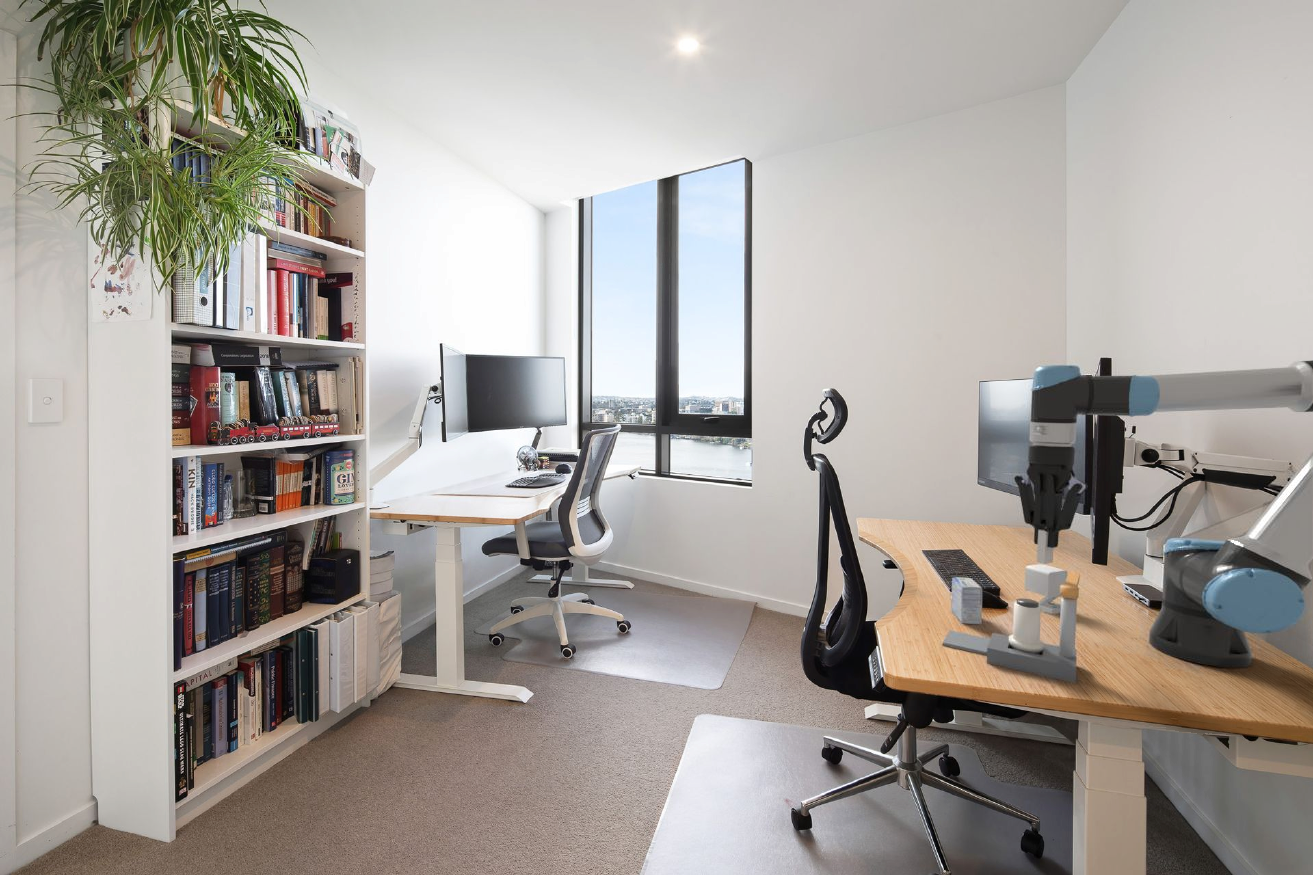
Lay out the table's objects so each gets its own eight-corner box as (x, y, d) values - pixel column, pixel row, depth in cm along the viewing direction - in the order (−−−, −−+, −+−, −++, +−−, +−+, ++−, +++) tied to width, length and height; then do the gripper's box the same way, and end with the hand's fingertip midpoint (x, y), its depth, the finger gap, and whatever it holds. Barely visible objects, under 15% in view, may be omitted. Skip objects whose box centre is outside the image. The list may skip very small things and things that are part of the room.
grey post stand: (1075, 665, 111) (1078, 593, 110) (1075, 683, 104) (1078, 607, 103) (992, 647, 120) (994, 580, 119) (986, 662, 112) (989, 592, 111)
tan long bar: (1077, 608, 106) (1078, 590, 106) (1059, 605, 108) (1059, 587, 108) (1082, 589, 117) (1082, 572, 117) (1065, 586, 119) (1066, 569, 119)
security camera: (1042, 602, 147) (1043, 563, 146) (1069, 611, 140) (1071, 571, 139) (1023, 605, 145) (1025, 565, 144) (1050, 614, 138) (1052, 573, 137)
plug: (1043, 660, 113) (1046, 600, 113) (1042, 671, 109) (1044, 608, 108) (1009, 652, 117) (1011, 594, 116) (1006, 663, 112) (1008, 602, 111)
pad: (991, 641, 122) (991, 638, 122) (986, 654, 116) (986, 652, 116) (949, 632, 127) (949, 630, 127) (942, 645, 120) (942, 642, 120)
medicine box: (982, 625, 131) (983, 587, 131) (960, 623, 132) (962, 586, 132) (970, 612, 139) (971, 577, 139) (950, 611, 140) (951, 576, 140)
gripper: (1007, 442, 118) (1001, 555, 120) (1075, 447, 106) (1067, 573, 108) (1030, 441, 121) (1024, 552, 123) (1099, 446, 109) (1091, 569, 111)
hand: (1044, 562), depth 115 cm, fingers closed
